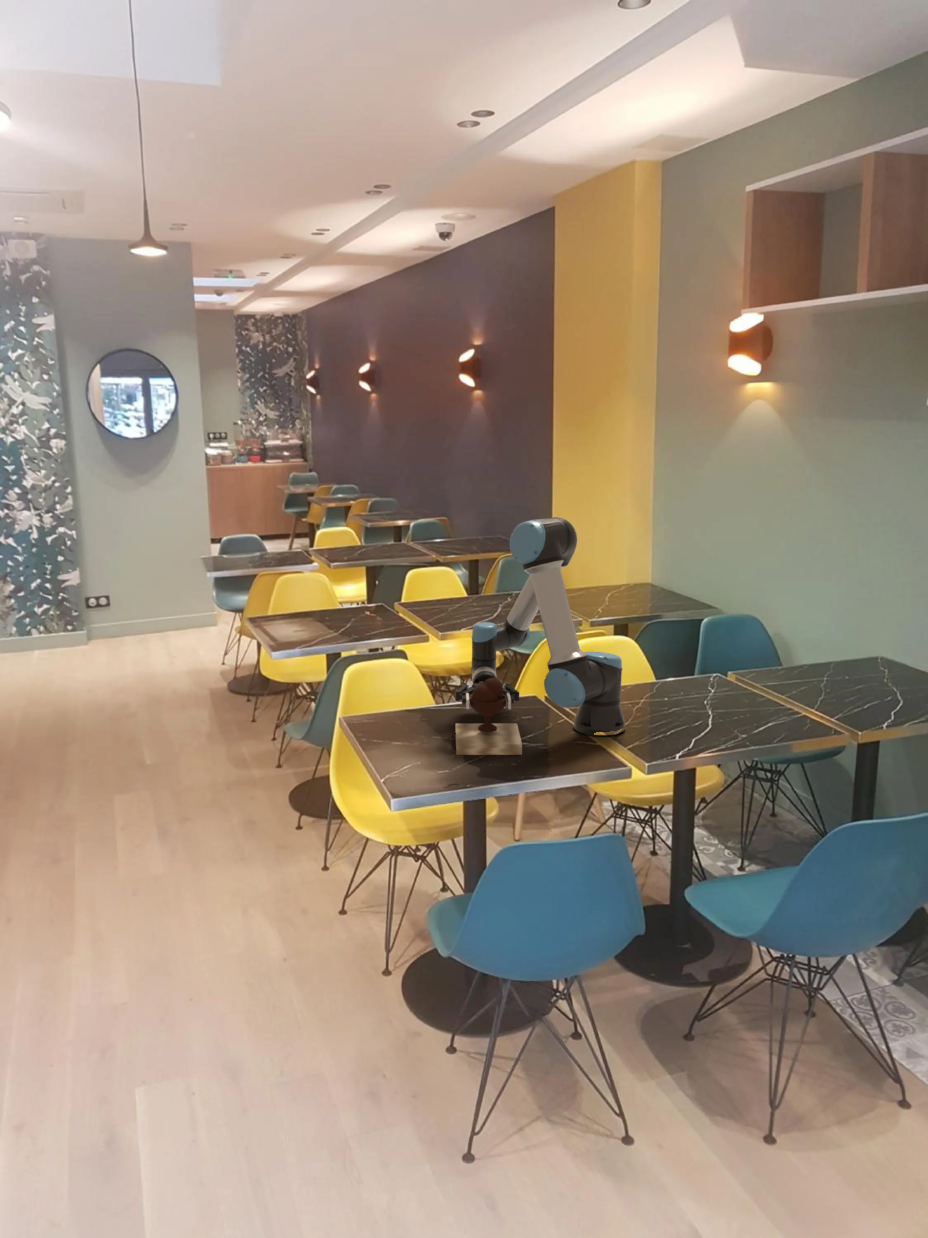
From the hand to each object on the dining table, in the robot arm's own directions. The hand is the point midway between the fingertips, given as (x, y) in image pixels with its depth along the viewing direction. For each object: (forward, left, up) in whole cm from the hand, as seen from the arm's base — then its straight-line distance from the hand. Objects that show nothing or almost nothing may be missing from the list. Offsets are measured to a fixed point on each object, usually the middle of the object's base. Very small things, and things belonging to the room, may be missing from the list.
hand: (488, 704), depth 273 cm
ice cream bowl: (0, -4, -9) cm, 10 cm away
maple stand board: (0, -4, -13) cm, 13 cm away
